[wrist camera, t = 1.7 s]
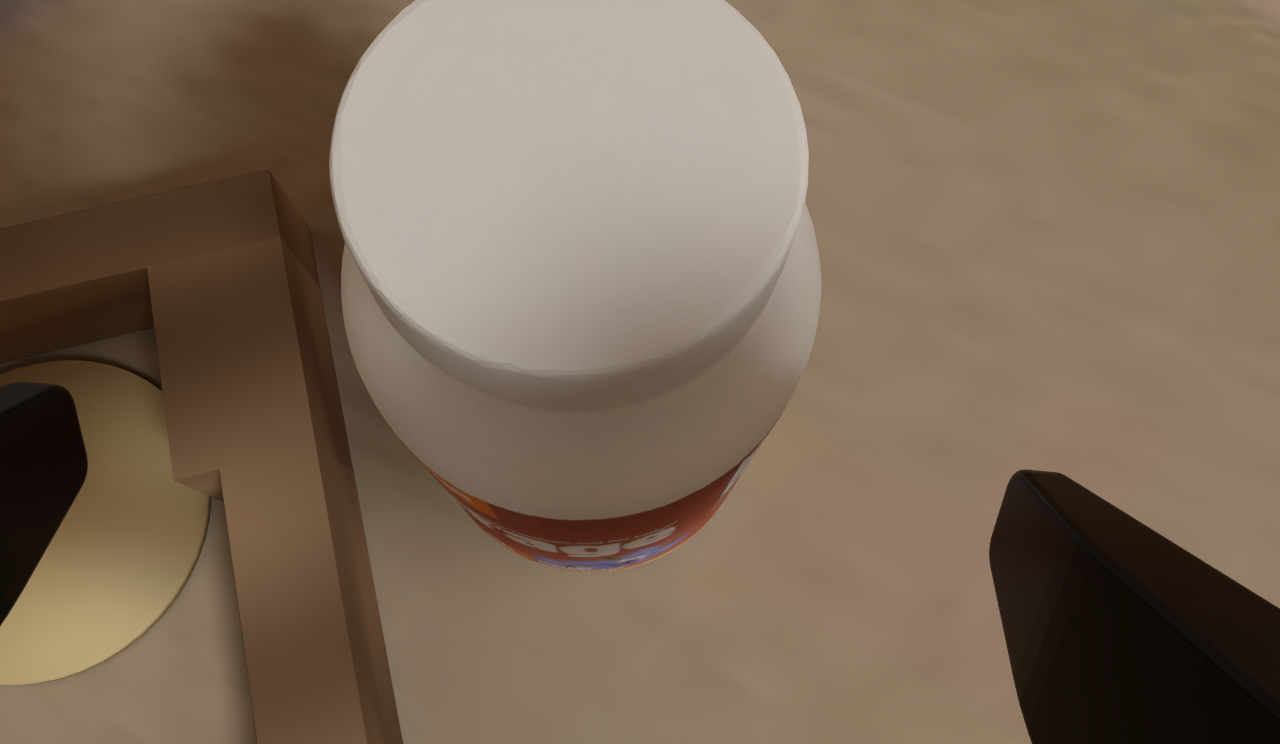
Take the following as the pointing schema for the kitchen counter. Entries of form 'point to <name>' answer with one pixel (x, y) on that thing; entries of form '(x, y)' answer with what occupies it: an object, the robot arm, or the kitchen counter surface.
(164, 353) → the wooden rectangular frame
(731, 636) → the kitchen counter surface
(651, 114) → the pill bottle
